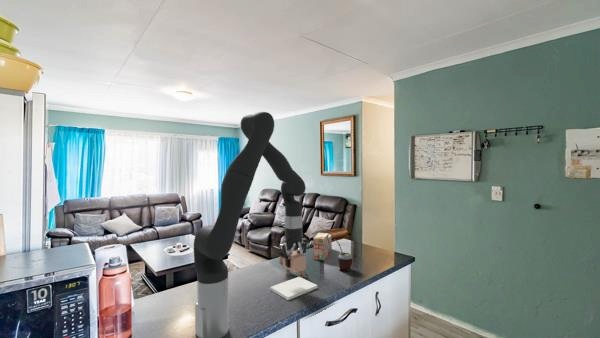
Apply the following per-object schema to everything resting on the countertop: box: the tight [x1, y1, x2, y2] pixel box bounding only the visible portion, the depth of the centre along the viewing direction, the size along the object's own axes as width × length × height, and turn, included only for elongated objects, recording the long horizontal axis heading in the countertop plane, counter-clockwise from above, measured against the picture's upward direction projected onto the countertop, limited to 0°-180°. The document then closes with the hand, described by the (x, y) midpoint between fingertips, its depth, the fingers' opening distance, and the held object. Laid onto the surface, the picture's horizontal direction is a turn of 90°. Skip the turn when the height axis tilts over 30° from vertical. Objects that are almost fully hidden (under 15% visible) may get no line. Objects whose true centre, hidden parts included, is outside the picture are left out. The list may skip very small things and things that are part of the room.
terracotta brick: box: [282, 250, 307, 274], centre depth 114 cm, size 6×9×6 cm, turn 39°
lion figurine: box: [278, 255, 309, 279], centre depth 128 cm, size 15×5×9 cm, turn 72°
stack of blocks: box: [312, 232, 333, 261], centre depth 159 cm, size 21×6×12 cm, turn 162°
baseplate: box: [269, 276, 318, 301], centre depth 114 cm, size 16×12×1 cm
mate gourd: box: [334, 238, 353, 274], centre depth 134 cm, size 8×8×15 cm
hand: (294, 265), depth 114 cm, fingers closed on terracotta brick, 5 cm apart
